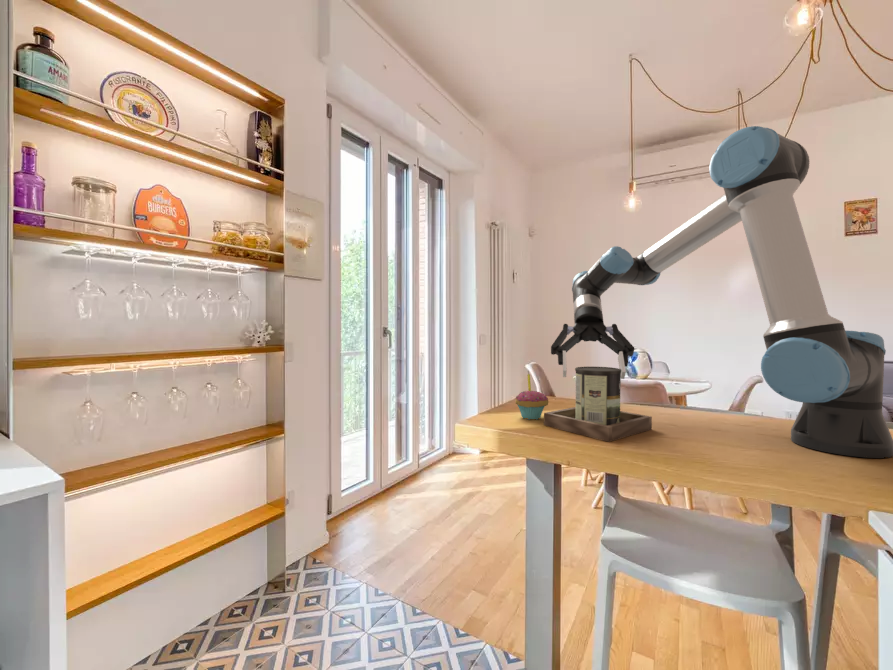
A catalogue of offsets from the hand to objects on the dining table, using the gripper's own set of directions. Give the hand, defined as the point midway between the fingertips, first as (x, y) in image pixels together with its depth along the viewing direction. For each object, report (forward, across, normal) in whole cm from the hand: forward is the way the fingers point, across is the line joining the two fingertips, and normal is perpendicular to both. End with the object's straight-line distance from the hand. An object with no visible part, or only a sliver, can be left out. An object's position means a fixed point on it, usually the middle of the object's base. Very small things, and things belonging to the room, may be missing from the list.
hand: (593, 374), depth 102 cm
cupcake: (+6, +15, -11) cm, 20 cm away
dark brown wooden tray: (+11, 0, -6) cm, 13 cm away
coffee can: (+11, -1, -7) cm, 13 cm away
